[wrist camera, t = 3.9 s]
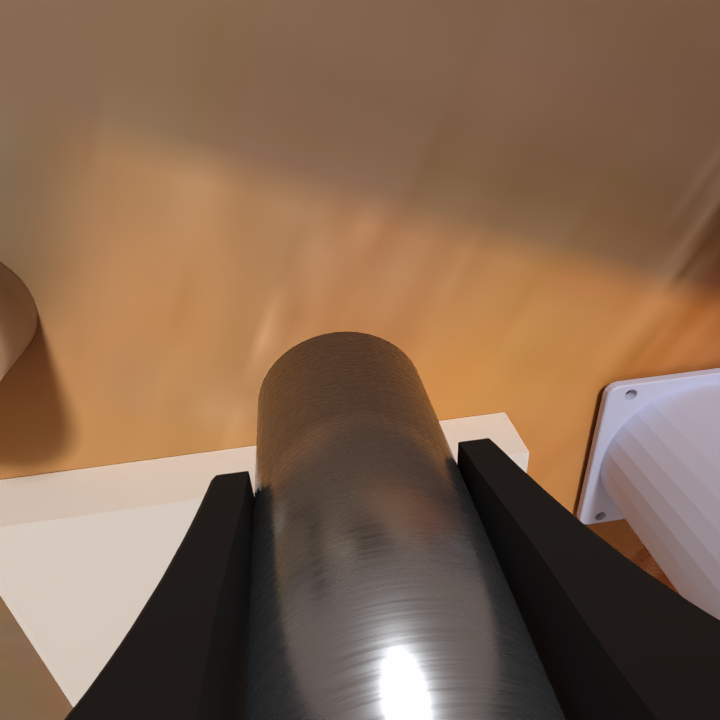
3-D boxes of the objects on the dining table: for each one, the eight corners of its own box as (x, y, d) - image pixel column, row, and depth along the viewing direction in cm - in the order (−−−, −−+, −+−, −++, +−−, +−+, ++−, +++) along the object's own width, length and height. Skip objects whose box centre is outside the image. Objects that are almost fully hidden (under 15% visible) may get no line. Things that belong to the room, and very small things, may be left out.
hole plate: (504, 412, 22) (529, 452, 20) (477, 677, 33) (491, 722, 31) (-9, 481, 20) (-40, 533, 18) (137, 738, 31) (127, 790, 29)
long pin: (422, 322, 12) (667, 795, 5) (422, 455, 14) (590, 935, 7) (245, 343, 12) (193, 892, 4) (271, 476, 14) (268, 1005, 6)
